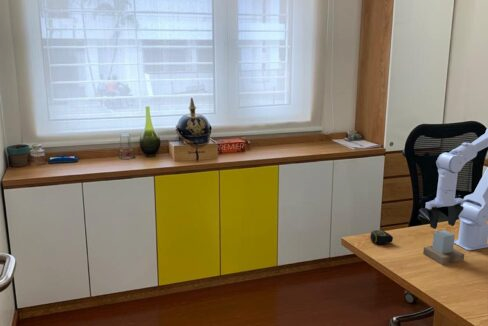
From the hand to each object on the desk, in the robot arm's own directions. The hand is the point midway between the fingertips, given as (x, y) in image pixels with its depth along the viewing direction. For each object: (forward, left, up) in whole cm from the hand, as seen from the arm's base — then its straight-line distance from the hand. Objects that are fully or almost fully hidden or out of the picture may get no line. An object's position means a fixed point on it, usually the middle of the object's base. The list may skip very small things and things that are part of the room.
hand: (442, 226), depth 168 cm
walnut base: (+2, +4, -10) cm, 11 cm away
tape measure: (+14, -14, -10) cm, 22 cm away
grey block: (+2, +4, -7) cm, 8 cm away
